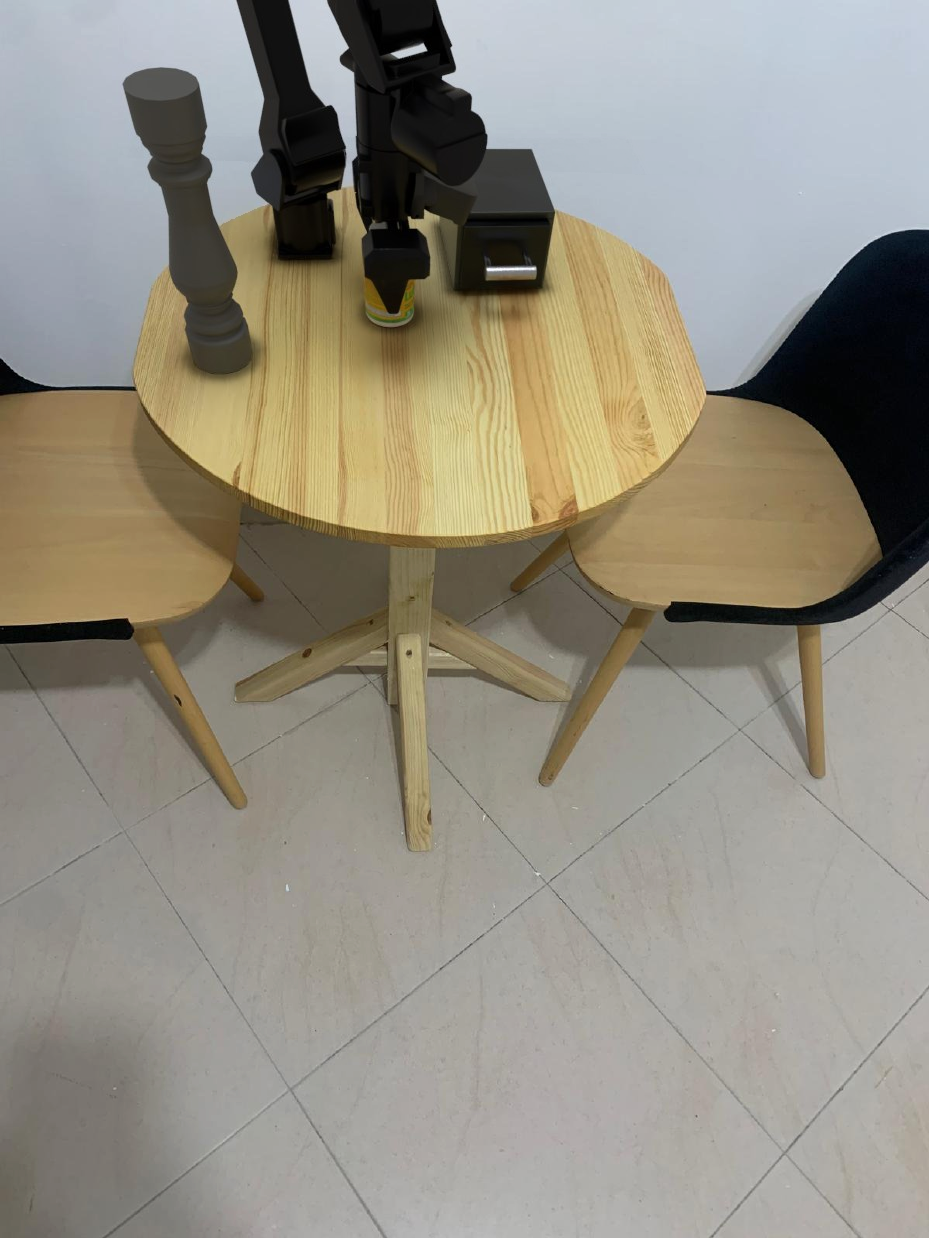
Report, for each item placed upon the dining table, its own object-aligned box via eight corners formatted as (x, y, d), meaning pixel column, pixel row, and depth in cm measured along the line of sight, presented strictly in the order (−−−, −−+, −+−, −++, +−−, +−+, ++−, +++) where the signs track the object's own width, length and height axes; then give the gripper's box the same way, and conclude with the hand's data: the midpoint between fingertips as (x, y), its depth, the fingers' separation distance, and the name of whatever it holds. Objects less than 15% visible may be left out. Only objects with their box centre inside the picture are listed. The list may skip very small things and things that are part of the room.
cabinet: (542, 288, 91) (555, 211, 83) (453, 290, 89) (458, 212, 82) (521, 224, 98) (531, 148, 91) (439, 225, 97) (442, 148, 89)
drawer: (547, 309, 87) (559, 247, 81) (465, 311, 86) (470, 249, 80) (521, 227, 96) (529, 166, 90) (446, 228, 95) (449, 166, 89)
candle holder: (192, 376, 78) (116, 103, 57) (191, 337, 81) (120, 66, 61) (254, 371, 79) (202, 101, 58) (251, 334, 82) (201, 65, 62)
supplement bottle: (412, 330, 85) (414, 246, 77) (363, 327, 84) (359, 242, 76) (415, 301, 88) (416, 216, 80) (367, 297, 87) (364, 212, 79)
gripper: (490, 190, 67) (476, 343, 80) (460, 91, 77) (452, 241, 90) (361, 191, 65) (367, 347, 78) (347, 90, 75) (355, 243, 88)
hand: (390, 291), depth 84 cm, fingers open, 7 cm apart
